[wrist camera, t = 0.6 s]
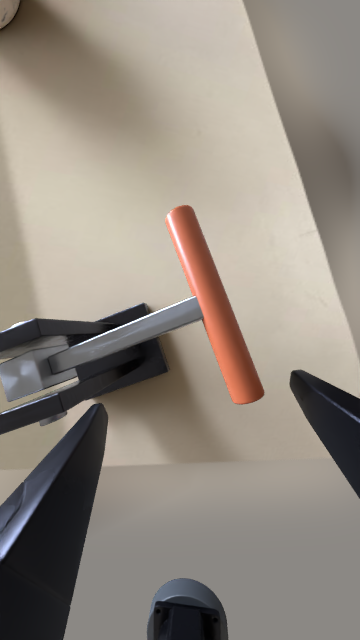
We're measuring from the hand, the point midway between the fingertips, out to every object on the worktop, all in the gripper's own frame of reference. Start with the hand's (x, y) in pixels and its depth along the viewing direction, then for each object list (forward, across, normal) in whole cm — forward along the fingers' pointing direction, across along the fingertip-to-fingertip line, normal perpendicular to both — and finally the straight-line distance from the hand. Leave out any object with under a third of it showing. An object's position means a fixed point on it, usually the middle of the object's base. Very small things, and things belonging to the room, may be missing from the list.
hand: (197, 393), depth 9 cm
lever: (+4, +4, -2) cm, 5 cm away
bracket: (+13, +8, +5) cm, 16 cm away
